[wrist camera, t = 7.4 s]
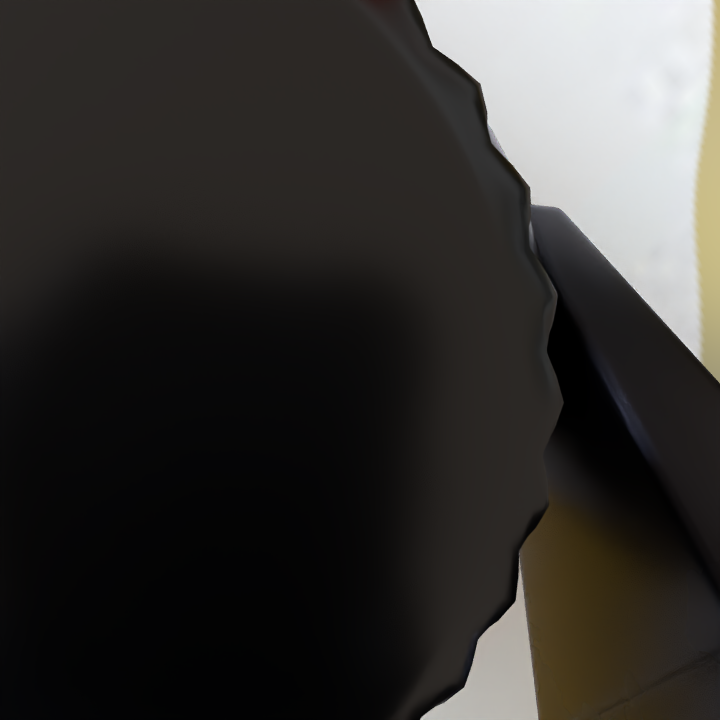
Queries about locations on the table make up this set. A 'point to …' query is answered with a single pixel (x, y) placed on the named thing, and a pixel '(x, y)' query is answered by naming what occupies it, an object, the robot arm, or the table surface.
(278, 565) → the supplement bottle
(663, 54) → the table surface
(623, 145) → the table surface
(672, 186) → the table surface
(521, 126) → the table surface
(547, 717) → the robot arm
